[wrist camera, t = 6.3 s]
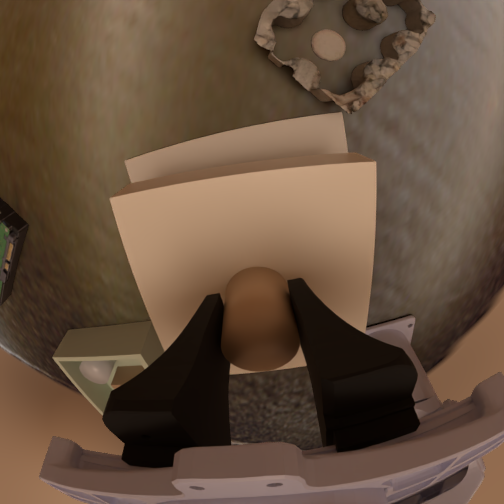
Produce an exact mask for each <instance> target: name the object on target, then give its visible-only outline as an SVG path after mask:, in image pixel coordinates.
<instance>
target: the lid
mask: <svg viewBox="0 0 504 504" xmlns="http://www.w3.org/2000/svg"><path fill="white" fill-rule="evenodd" d="M110 201H111V205H112V209H113V212H114V216H115V219H116V223H117V226H118V229H119V232H120V236H121V239H122V242H123V245H124V248H125V251H126V254H127V257H128V260H129V263H130V266H131V269H132V272H133V274H134V277H135V280H136V283H137V285H138V288H139V291H140V293H141V296H142V299H143V301H144V304H145V306H146V309H147V311H148V314H149V316H150V319H151V321H152V324H153V326H154V328H155V331H156V333H157V335H158V338H159V340H160V342H161V345H162V347H163V349H164V351H166V350H167V349H168V348H169V347H170V345H171V344H172V343H173V342H174V341H175V340H176V339H177V337H178V336H179V335H180V333H181V332H182V331H183V330H184V328H185V327H186V326H187V324H188V323H189V321H190V320H191V318H192V317H193V315H194V314H195V312H196V311H197V309H198V308H199V306H200V305H201V303H202V301H203V300H204V299H205V297H206V296H207V295H211V294H216V293H220V295H221V298H222V301H223V304H224V313H223V325H222V336H221V350H222V353H223V355H224V357H225V358H226V359H227V360H228V361H229V362H230V374H242V373H253V372H263V371H272V370H280V369H288V368H295V367H302V366H307V364H306V361H305V358H304V355H303V352H302V349H301V345H300V338H299V333H298V329H297V324H296V319H295V315H294V311H293V307H292V303H291V298H290V293H289V288H288V282H287V280H291V279H296V278H302V279H304V281H305V282H306V284H307V285H308V286H309V288H310V289H311V290H312V291H313V292H314V294H315V295H316V296H317V297H318V298H319V299H320V300H321V301H322V302H323V303H324V304H325V305H326V306H327V307H328V308H329V309H331V310H332V311H333V312H334V313H335V314H336V315H338V316H339V317H340V318H341V319H343V320H344V321H346V322H347V323H348V324H350V325H351V326H353V327H354V328H356V329H358V330H359V331H361V332H363V333H365V332H366V325H367V317H368V310H369V302H370V293H371V283H372V272H373V260H374V246H375V226H376V161H374V160H372V159H369V158H367V157H365V156H363V155H360V154H358V153H356V152H355V153H337V154H323V155H310V156H299V157H289V158H280V159H271V160H262V161H254V162H247V163H239V164H232V165H226V166H219V167H213V168H207V169H201V170H195V171H189V172H184V173H178V174H173V175H168V176H163V177H158V178H153V179H148V180H144V181H139V182H134V183H130V184H128V185H127V186H125V187H124V188H123V189H121V190H120V191H119V192H117V193H116V194H114V195H113V196H112V197H110ZM230 374H229V375H230Z"/></svg>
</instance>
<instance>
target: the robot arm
mask: <svg viewBox="0 0 504 504" xmlns="http://www.w3.org/2000/svg"><path fill="white" fill-rule="evenodd" d="M287 282H288V288H289V293H290V298H291V303H292V307H293V311H294V315H295V319H296V324H297V329H298V333H299V338H300V345H301V349H302V352H303V355H304V358H305V361H306V364H307V368H308V371H309V374H310V378H311V383H312V388H313V393H314V398H315V404H316V409H317V415H318V420H319V426H320V432H321V438H322V444H323V447H322V448H317V449H312V450H307V451H301V450H300V449H299V448H298V447H297V446H295V445H293V444H289V443H284V442H263V443H254V444H243V445H231V437H230V424H229V403H228V385H229V374H230V362H229V361H228V360H227V359H226V358H225V357H224V355H223V353H222V350H221V336H222V325H223V313H224V304H223V301H222V298H221V295H220V293H216V294H211V295H207V296H206V297H205V299H204V300H203V301H202V303H201V305H200V306H199V308H198V309H197V311H196V312H195V314H194V315H193V317H192V318H191V320H190V321H189V323H188V324H187V326H186V327H185V328H184V330H183V331H182V332H181V333H180V335H179V336H178V337H177V339H176V340H175V341H174V342H173V343H172V344H171V345H170V347H169V348H168V349H167V350H166V351H165V352H164V353H163V354H162V355H161V356H160V357H158V358H157V359H156V360H155V361H154V362H153V363H152V364H151V365H150V366H148V367H147V368H146V369H145V370H143V371H142V372H141V373H139V374H138V375H137V376H135V377H134V378H132V379H131V380H129V381H128V382H126V383H124V384H123V385H121V386H119V387H118V388H116V389H114V390H112V391H111V393H110V395H109V398H108V401H107V404H106V407H105V410H104V413H103V418H102V419H103V422H104V424H105V425H106V427H107V428H108V429H109V430H110V431H111V432H112V433H113V434H115V435H116V436H117V437H118V438H119V439H120V440H121V441H122V442H124V443H125V446H124V450H123V454H122V456H120V455H113V454H107V453H101V452H95V451H89V450H84V449H82V448H81V447H80V446H79V445H78V444H77V443H75V442H73V441H71V440H69V439H64V438H60V437H56V436H53V437H52V440H51V443H50V446H49V448H48V451H47V454H46V457H45V460H44V463H43V466H42V469H41V472H40V475H39V478H40V479H41V480H42V481H44V482H46V483H47V484H49V485H50V486H52V487H54V488H55V489H57V490H59V491H61V492H63V493H64V494H66V495H68V496H70V497H71V498H73V499H76V500H79V501H82V502H85V503H88V504H468V502H469V501H470V499H471V498H472V496H473V495H474V494H475V492H476V491H477V489H478V487H479V486H480V484H481V483H482V481H483V479H484V471H485V469H486V468H485V465H484V462H483V459H482V456H484V455H486V454H487V453H489V452H491V451H492V450H494V449H495V448H497V447H498V446H500V445H501V444H502V443H503V442H504V376H503V374H502V373H501V372H498V373H497V374H495V375H493V376H491V377H490V378H488V379H486V380H484V381H482V382H481V383H479V384H478V385H477V386H476V387H475V389H474V390H473V392H472V395H471V396H470V397H468V398H466V399H464V400H462V401H460V402H457V401H454V400H452V401H451V400H450V399H447V400H446V401H444V402H443V404H442V403H441V401H440V400H439V399H438V397H437V395H436V393H435V391H434V389H433V387H432V385H431V383H430V381H429V379H428V377H427V375H426V373H425V371H424V369H423V367H422V365H421V363H420V361H419V359H418V358H417V356H416V354H415V352H414V350H413V348H412V347H411V345H410V344H411V339H412V335H413V330H414V324H415V318H414V316H412V315H411V316H407V317H404V318H400V319H397V320H393V321H390V322H386V323H383V324H379V325H375V326H371V327H367V328H366V332H365V333H363V332H361V331H359V330H358V329H356V328H354V327H353V326H351V325H350V324H348V323H347V322H346V321H344V320H343V319H341V318H340V317H339V316H338V315H336V314H335V313H334V312H333V311H332V310H331V309H329V308H328V307H327V306H326V305H325V304H324V303H323V302H322V301H321V300H320V299H319V298H318V297H317V296H316V295H315V294H314V292H313V291H312V290H311V289H310V288H309V286H308V285H307V284H306V282H305V281H304V279H302V278H296V279H291V280H287Z"/></svg>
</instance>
